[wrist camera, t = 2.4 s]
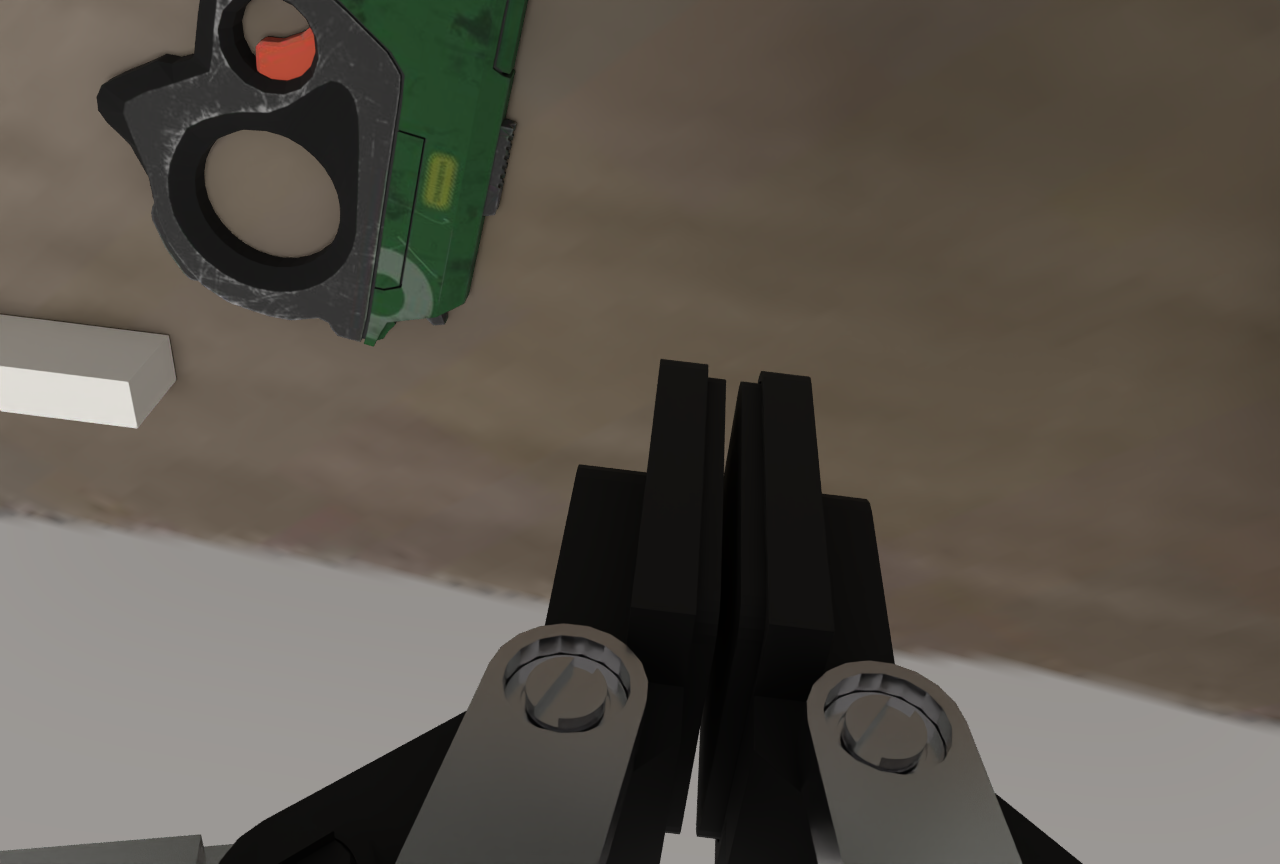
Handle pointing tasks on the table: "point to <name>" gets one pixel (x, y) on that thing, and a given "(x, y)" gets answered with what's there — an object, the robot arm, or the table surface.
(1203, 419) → the table surface
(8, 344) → the white angled bar
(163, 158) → the gun
